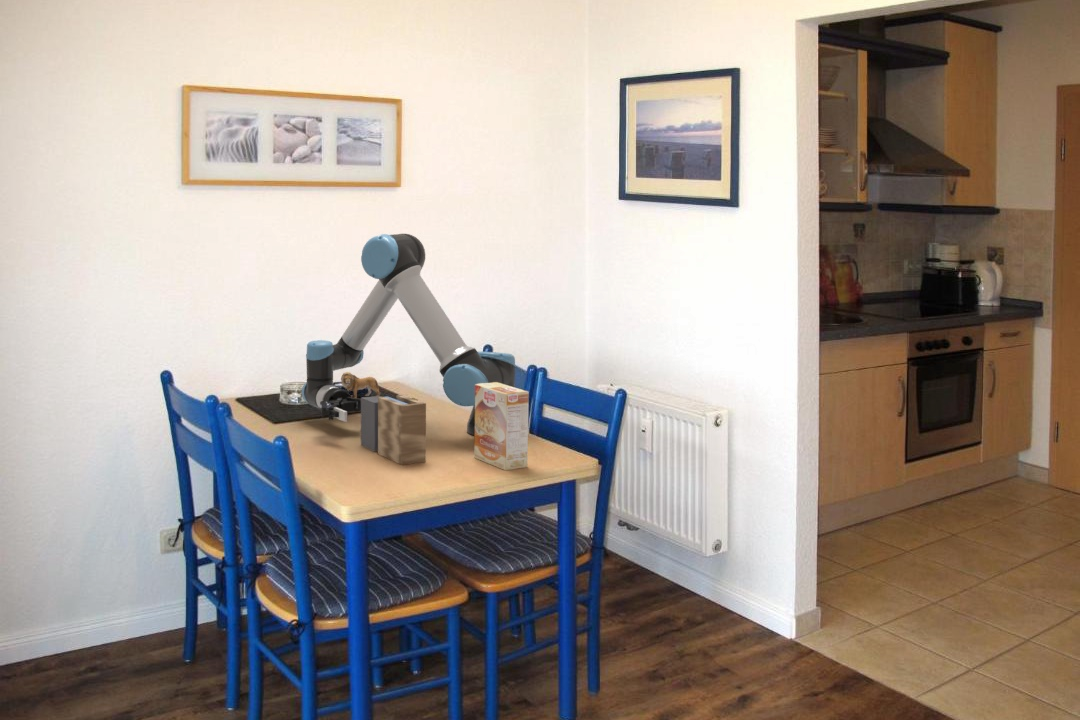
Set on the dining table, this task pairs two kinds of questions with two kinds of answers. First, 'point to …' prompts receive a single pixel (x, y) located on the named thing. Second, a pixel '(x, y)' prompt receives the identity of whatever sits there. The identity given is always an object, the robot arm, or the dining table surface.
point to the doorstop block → (369, 422)
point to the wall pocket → (402, 430)
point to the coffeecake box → (501, 425)
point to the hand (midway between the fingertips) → (369, 414)
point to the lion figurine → (359, 384)
